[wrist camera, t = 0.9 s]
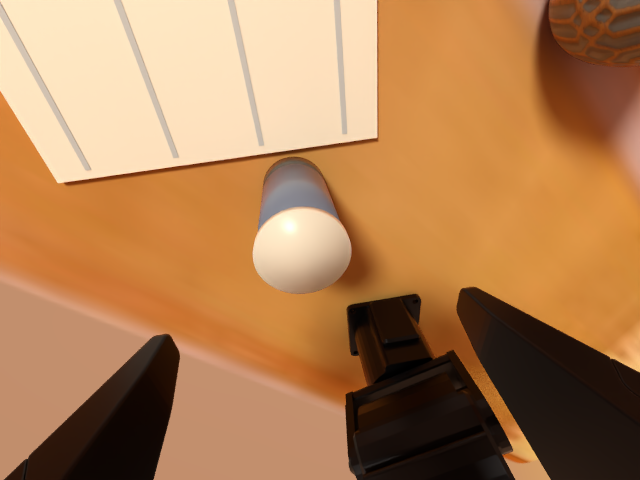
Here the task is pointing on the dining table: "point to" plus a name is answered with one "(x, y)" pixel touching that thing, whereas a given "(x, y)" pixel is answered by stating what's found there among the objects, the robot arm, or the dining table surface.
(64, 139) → the paper
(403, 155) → the dining table surface
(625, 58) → the vase
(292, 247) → the grey capped bottle
